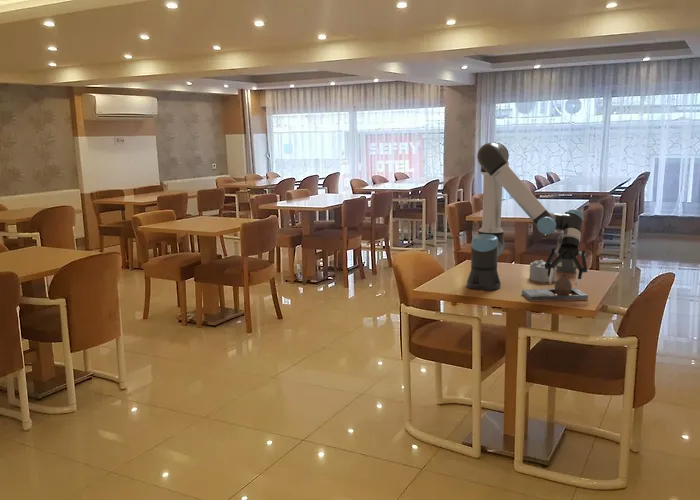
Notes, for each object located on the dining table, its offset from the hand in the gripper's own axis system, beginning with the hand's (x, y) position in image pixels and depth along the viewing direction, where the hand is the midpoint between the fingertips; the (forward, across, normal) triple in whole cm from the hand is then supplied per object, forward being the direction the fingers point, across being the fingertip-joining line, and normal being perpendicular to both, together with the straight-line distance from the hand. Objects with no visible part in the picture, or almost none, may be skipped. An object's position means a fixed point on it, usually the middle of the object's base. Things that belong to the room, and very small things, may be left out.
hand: (562, 283), depth 260 cm
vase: (+2, 0, -7) cm, 7 cm away
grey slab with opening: (+4, +4, -5) cm, 7 cm away
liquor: (-36, +7, -46) cm, 59 cm away
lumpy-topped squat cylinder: (-19, +15, -29) cm, 38 cm away
